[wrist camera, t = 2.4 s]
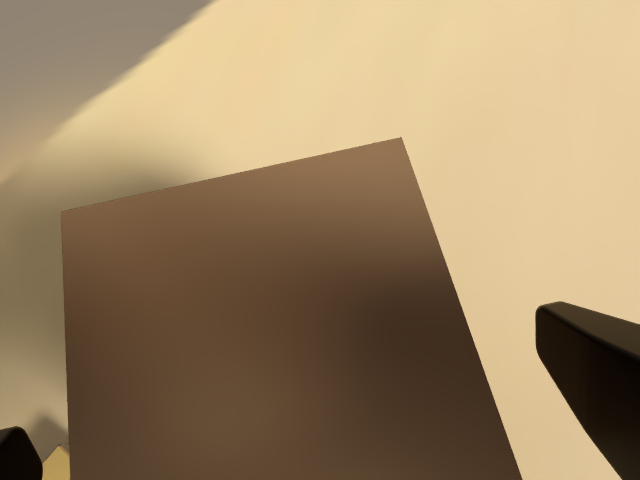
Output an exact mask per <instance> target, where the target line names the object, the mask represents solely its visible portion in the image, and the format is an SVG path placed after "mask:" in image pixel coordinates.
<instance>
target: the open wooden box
mask: <svg viewBox="0 0 640 480" xmlns="http://www.w3.org/2000/svg"><path fill="white" fill-rule="evenodd" d="M61 223H62V253H63V282H64V312H65V341H66V371H67V401H68V430H69V460H70V480H522V477H521V474H520V471H519V468H518V466H517V463H516V460H515V457H514V454H513V451H512V449H511V446H510V443H509V440H508V437H507V434H506V432H505V429H504V426H503V423H502V420H501V417H500V415H499V412H498V409H497V406H496V403H495V400H494V398H493V395H492V392H491V389H490V386H489V384H488V381H487V378H486V375H485V372H484V369H483V367H482V364H481V361H480V358H479V355H478V352H477V350H476V347H475V344H474V341H473V338H472V335H471V333H470V330H469V327H468V324H467V321H466V318H465V316H464V313H463V310H462V307H461V304H460V301H459V299H458V296H457V293H456V290H455V287H454V284H453V282H452V279H451V276H450V273H449V270H448V267H447V265H446V262H445V259H444V256H443V253H442V250H441V248H440V245H439V242H438V239H437V236H436V234H435V231H434V228H433V225H432V222H431V219H430V217H429V214H428V211H427V208H426V205H425V202H424V200H423V197H422V194H421V191H420V188H419V185H418V183H417V180H416V177H415V174H414V171H413V168H412V166H411V163H410V160H409V157H408V154H407V151H406V149H405V146H404V143H403V140H402V137H400V138H396V139H391V140H387V141H382V142H377V143H373V144H368V145H364V146H359V147H354V148H350V149H345V150H341V151H336V152H332V153H327V154H322V155H318V156H313V157H309V158H304V159H300V160H295V161H290V162H286V163H281V164H277V165H272V166H268V167H263V168H258V169H254V170H249V171H245V172H240V173H236V174H231V175H226V176H222V177H217V178H213V179H208V180H203V181H199V182H194V183H190V184H185V185H181V186H176V187H171V188H167V189H162V190H158V191H153V192H149V193H144V194H139V195H135V196H130V197H126V198H121V199H117V200H112V201H107V202H103V203H98V204H94V205H89V206H85V207H80V208H75V209H71V210H66V211H62V212H61Z"/></svg>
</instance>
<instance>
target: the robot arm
mask: <svg viewBox="0 0 640 480" xmlns="http://www.w3.org/2000/svg"><path fill="white" fill-rule="evenodd" d="M535 321H536V349H537V353H538V355H539V358H540V359H541V361H542V363H543V364H544V366H545V368H546V369H547V371H548V372H549V374H550V376H551V377H552V379H553V381H554V382H555V384H556V385H557V387H558V389H559V390H560V392H561V393H562V395H563V397H564V398H565V400H566V402H567V403H568V405H569V406H570V408H571V410H572V411H573V413H574V415H575V416H576V418H577V419H578V421H579V422H580V424H581V425H582V427H583V429H584V430H585V432H586V433H587V434H588V436H589V437H590V438H591V440H592V441H593V442H594V444H595V445H596V446H597V448H598V449H599V450H600V452H601V453H602V454H603V455H604V457H605V458H606V459H607V461H608V462H609V463H610V465H611V466H612V467H613V468H614V470H615V471H616V472H617V474H618V475H619V476H620V478H621V479H622V480H640V324H636V323H633V322H630V321H626V320H623V319H619V318H616V317H613V316H609V315H606V314H603V313H599V312H596V311H592V310H589V309H586V308H582V307H579V306H575V305H572V304H569V303H565V302H561V301H558V302H554V303H549V304H545V305H541V306H539V307H538V308H537V310H536V315H535ZM42 477H43V466H42V462H41V459H40V457H39V455H38V454H37V452H36V450H35V448H34V446H33V444H32V442H31V441H30V439H29V437H28V435H27V433H26V432H25V430H24V429H23V428H21V427H18V426H15V427H10V428H6V429H1V430H0V480H42Z"/></svg>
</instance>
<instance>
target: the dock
mask: <svg viewBox="0 0 640 480" xmlns="http://www.w3.org/2000/svg"><path fill="white" fill-rule="evenodd" d="M42 466H43V477H42V480H70V460H69V444H59V445H58V446H57V447H56V448H55V450H54V451H53V452H52V453H51V454H50V455H49V457H48V458H47V459H46V460H45V461H44V462H43V463H42Z"/></svg>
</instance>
